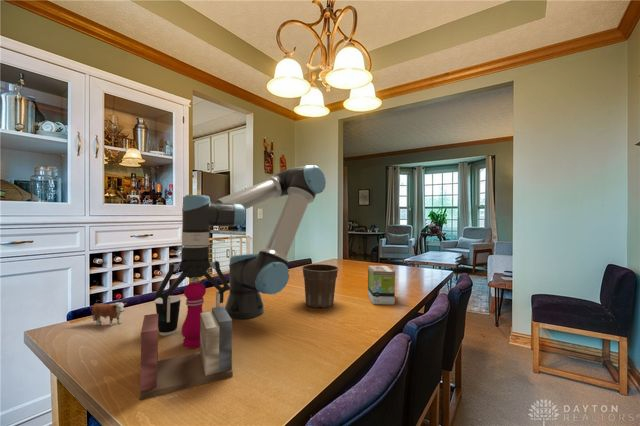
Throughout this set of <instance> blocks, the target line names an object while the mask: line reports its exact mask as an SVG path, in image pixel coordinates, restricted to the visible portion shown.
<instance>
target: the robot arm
mask: <svg viewBox="0 0 640 426" xmlns="http://www.w3.org/2000/svg"><path fill="white" fill-rule="evenodd" d="M326 183H327V182H326V177H325V173H324V172H323V170H322V169H321V168H320V166H317V165H314V164H312V165H309V164H307V165H305V166H298V167H297V166H296V167H289V168H287V169H284V170H282V171H279V172H277V173H276V174H273V175H271V176H269V177H267V178H266V180H264V181H262V182H260V183H256V184H254V185H252V186H248V187H246V188H244V189H242V190H239V191H237V192H233V193H230V194H228V195H226V196H223V197H220V198H218V199H216V200H213V201H211V198H210V196H209V195H206V194H205V195H204V194H187V195H184V197H183V199H182V200H183V201H182V208H181V212H182V217H181V218H182V219H181V221H182V224H181V225H182V227H181V229H182V231H181V245H182V246H183V247H181V259H180V263H172V262H170V263H169V266H168V271H167V273H166V274H165V277H164V278H163V280H162V281H161V283H160V285H159V286H158V288H157V290H156V292H155V297H156V299H158V298H162V299H163V310H167V322H170V297H169V296H171V294H172V293H173V292H174V291H175V290H176V289H177V288H178V286H179V285H180V284H182V282H183V281H184V280H185V279H186V278H189V279H193V278H194V277H197V278H198V279H199V278H202V277H204V278H206V279H207V281H208V282H210V284H212V286H213V287H214V288H215V289H216V290H217V291H216V292H215V307H221V304H223V303H224V295H225V292H227V291H229V293H228V297H227V300H226V302H225V303H226V304H225V306H224V308H225V310H226V311H227V313H228V314H229V316H230V317H231V319H237V320H238V319H240V320H244V319H252V318H255V317H258V316H261V315H262V314H263V313H264V312H265V307H264V302H263V301H264V300H263V298H262V295H261V294H264V295H276V294H278V293H280V292H282V291H283V289H284V288H285V287H286V286H287V285H288V283H289V279H290V273H289V272H290V270H289V268H288V266H289V265H288V264H289V261H288V258H287V257H288V255H289V252H290V250H291V246H292V245H293V242H294V240H295V236H296V235H297V232H298V230H299V227H300V225H301V222H302V219H303V217H304V215H305V212H306V210H307V208H308V205H309V204H311V203H313V202H314V201H315V199H316V196H317V194H318V195H319V194H321V193H322V192H324V190H325V189H326ZM283 196H288V197H287V199H286V201H285V203H284V205H283V208H282V211H281V213H280V215H279V217H278V218H277V219H278V220H277V221H276V224H275V226H274V227H273V230H272V233H271V235H270V236H269V240H268V242H267V243H266V246H265V248H263V249H261V250H259V252H258V253H246V254H245V253H244V254H238V255H232V256H230V258H229V264H228V266H229V283H228V282H227V280H226V278H225V276H224V273H223V272H222V269H221V266H220V264H221V263H220V262H219V261H218V260H214V261H211V262H210V260H209V259H210V257H209V256H210V255H209V254H210V253H209V250H210V248H209V246H208V245H209V243H210V227H238V226H239V227H240V226H242V225H243V224H244V223H245V222H246V218H247V217H246V213H247V212H246V210H247V209H249V208H252V207H254V206H256V205H258V204H261V203H264V202H266V201H267V200H268V201H269V200H271V199H273V198H274V199H278V198H281V197H283ZM210 267H211V268H212V269H213V270H215V273H216V274H217V277H218V278H219V279H220V282H221V284H222V285H223V286H221V285H220V284H219V283H218V282H217V281H216V280H215V279H214V278H213V277H212V276H211V274H209V272H208V270H209V269H210ZM178 269H179V270H181V273H180V275H178V277H177V278H176V279H175V280H174V282H173V283H172V284H171V285H170V286H169V287H168V288H167V289H166V290H165V288H166V286H167V285H168V284H169V282H170V280H171V278H172V276H173V273H174V272H176V271H177V270H178ZM164 290H165V291H164Z"/></svg>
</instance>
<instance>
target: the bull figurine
mask: <svg viewBox="0 0 640 426" xmlns="http://www.w3.org/2000/svg"><path fill="white" fill-rule="evenodd" d="M127 304H128V303H127V302H124V303H123V302H118V301H117V302H115V303H94V304H93V305H92V306H91V318H92V320H93V322H95V321H96V325H97V326H98V327H100V326H101V325H102V323H103V321H102V319H101V318H102V317H103V318H104V319H107V318H108V317H109V323H108V325H109V326H110V327H113V326H114V325H113V320H115V319H116V321H117V324H118V325H122V321H121V319H120V318H121V317H120V316H121V314H122V313H123V312H125V309H124V306H126V305H127Z"/></svg>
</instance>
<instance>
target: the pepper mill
mask: <svg viewBox="0 0 640 426" xmlns="http://www.w3.org/2000/svg"><path fill="white" fill-rule="evenodd" d="M191 279H192V280H191V283H188V284H187V285H185V288H184V291H183V294H184V297H185V298H186V299H185V301H186V302H185V305H186V306H187V313H186V316H185V319H184V321H183V324H182V326H181V336H182V337H183V341H182V346H183V347H184V348H185V349H197V348H200V313H204V312H203V304H204V303H205V298H204V296H205V295H206V292H207V290H206V288H207V287H206V286H205V284H203V283H202V282H200V281H199V278H197V277H194V278H191Z"/></svg>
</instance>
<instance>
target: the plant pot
mask: <svg viewBox="0 0 640 426" xmlns="http://www.w3.org/2000/svg"><path fill="white" fill-rule="evenodd" d="M301 269H302V275H303V276H302V277H303V278H304V280H303V281H304V295H305V304H306V306H308V307H311V308H316V309H317V308H318V309H319V308H320V307H321V308H322V309H324V308H330V307H332V306H333V305H334V303H335V302H334V300H335V299H334V298H335V291H336V290H335V289H336V283H337V282H336V281H337V278H338V272H339V270H340V268H339V266H336V265H333V264H324V263H321V264H320V263H316V264H314V263H312V264H305V265H302V266H301Z"/></svg>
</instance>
